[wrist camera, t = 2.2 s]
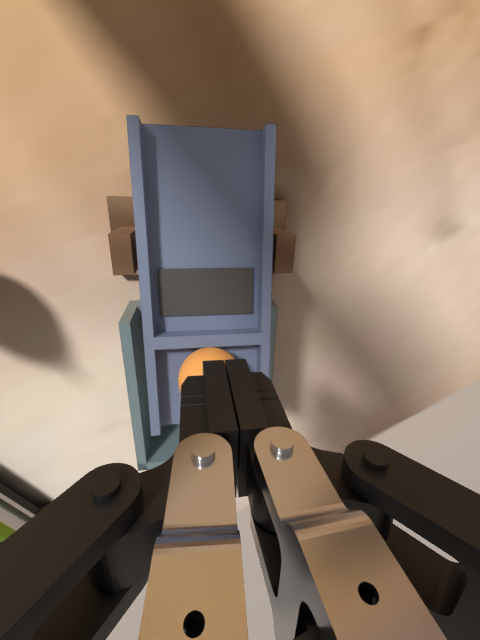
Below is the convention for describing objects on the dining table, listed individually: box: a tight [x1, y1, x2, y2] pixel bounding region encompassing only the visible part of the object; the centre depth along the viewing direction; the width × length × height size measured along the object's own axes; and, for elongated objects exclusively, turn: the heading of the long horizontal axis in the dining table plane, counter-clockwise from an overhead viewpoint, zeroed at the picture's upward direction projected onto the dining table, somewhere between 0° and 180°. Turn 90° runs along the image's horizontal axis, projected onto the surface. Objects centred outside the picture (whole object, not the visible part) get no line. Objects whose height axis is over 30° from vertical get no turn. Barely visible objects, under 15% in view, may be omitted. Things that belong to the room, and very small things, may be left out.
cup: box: [119, 299, 277, 471], centre depth 29 cm, size 15×13×5 cm
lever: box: [126, 115, 277, 436], centre depth 20 cm, size 19×8×2 cm, turn 178°
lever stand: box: [107, 196, 296, 275], centre depth 23 cm, size 6×14×8 cm, turn 88°
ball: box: [178, 347, 235, 392], centre depth 20 cm, size 4×4×4 cm
